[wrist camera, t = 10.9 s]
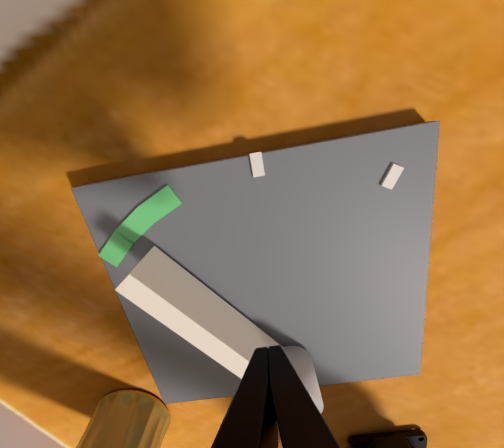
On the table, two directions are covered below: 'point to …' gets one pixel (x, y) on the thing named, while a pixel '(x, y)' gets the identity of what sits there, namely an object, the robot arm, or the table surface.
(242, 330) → the lever
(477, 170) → the table surface
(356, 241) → the dial plate
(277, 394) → the robot arm
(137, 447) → the vase
